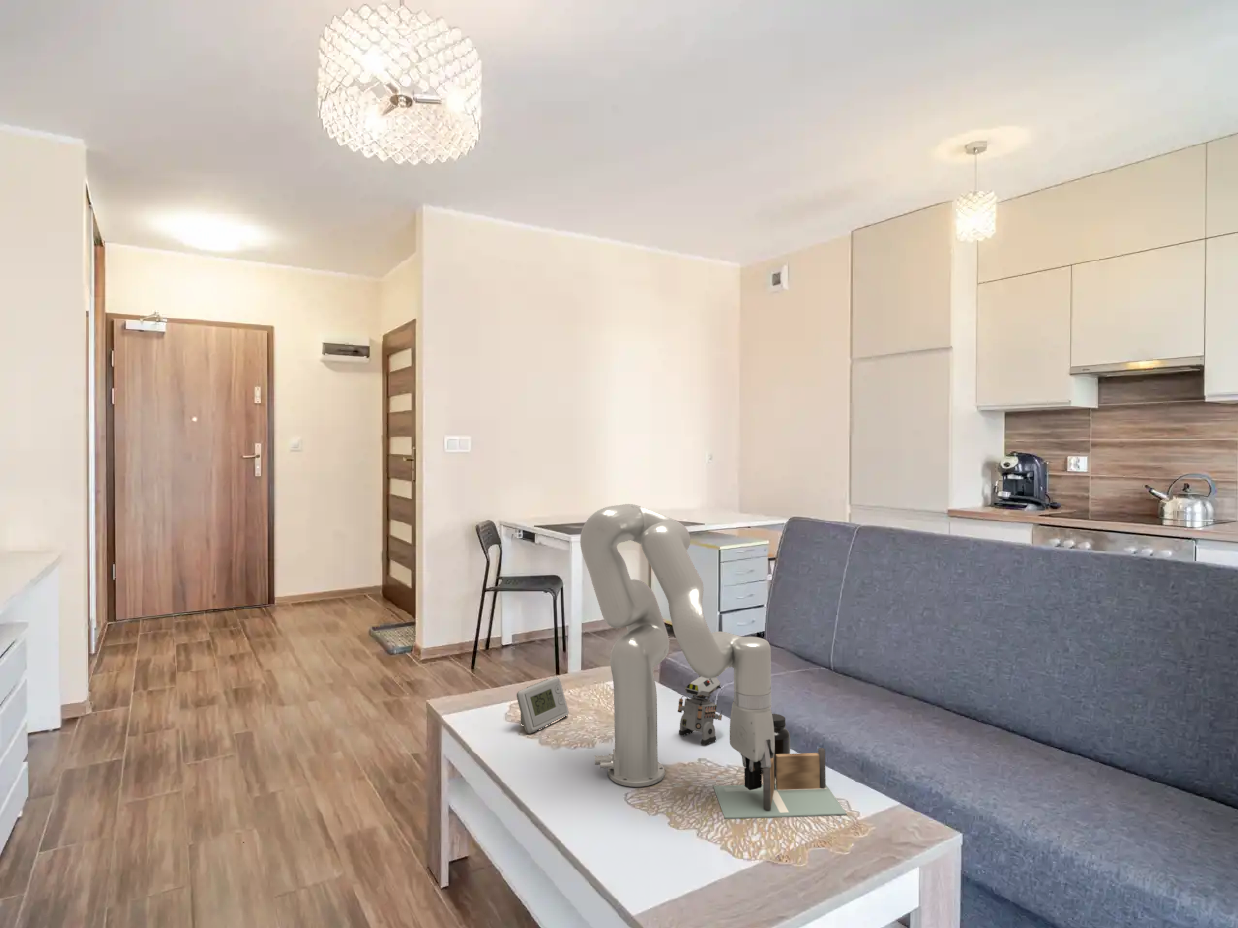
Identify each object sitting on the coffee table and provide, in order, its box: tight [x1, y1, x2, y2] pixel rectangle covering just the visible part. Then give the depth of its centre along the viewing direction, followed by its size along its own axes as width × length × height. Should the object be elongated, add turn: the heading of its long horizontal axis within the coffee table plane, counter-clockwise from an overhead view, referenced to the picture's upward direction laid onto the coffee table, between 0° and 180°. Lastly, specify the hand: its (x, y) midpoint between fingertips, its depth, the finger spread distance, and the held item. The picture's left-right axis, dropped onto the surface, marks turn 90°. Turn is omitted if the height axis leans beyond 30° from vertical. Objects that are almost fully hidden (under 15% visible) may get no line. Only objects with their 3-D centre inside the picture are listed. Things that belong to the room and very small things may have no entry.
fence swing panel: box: [762, 752, 776, 811], centre depth 141 cm, size 11×1×8 cm, turn 162°
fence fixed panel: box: [775, 747, 827, 790], centre depth 146 cm, size 10×1×8 cm, turn 92°
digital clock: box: [516, 676, 569, 734], centre depth 184 cm, size 16×9×11 cm, turn 132°
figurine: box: [677, 675, 723, 746], centre depth 174 cm, size 9×12×15 cm
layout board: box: [713, 783, 848, 820], centre depth 141 cm, size 24×13×1 cm, turn 92°
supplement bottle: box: [762, 713, 791, 777], centre depth 155 cm, size 7×7×12 cm
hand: (753, 786), depth 143 cm, fingers closed
